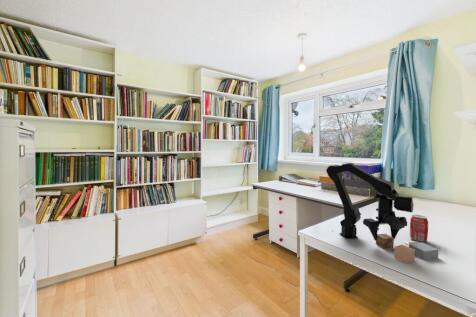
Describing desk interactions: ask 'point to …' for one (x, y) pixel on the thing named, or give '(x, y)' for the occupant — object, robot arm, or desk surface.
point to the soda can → (419, 228)
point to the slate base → (424, 251)
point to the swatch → (411, 242)
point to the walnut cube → (385, 241)
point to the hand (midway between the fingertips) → (384, 239)
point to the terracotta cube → (404, 253)
